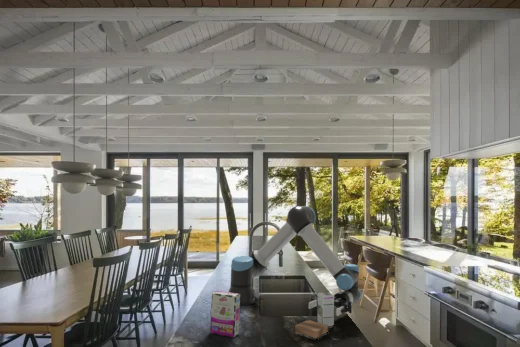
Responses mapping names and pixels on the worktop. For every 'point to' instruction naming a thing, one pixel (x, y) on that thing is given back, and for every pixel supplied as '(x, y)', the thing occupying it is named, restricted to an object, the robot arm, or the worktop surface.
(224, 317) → the candy bar box
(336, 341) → the worktop surface
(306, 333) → the wood block
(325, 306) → the syrup box
